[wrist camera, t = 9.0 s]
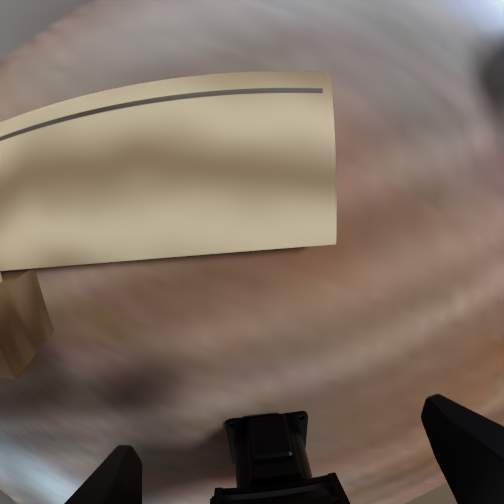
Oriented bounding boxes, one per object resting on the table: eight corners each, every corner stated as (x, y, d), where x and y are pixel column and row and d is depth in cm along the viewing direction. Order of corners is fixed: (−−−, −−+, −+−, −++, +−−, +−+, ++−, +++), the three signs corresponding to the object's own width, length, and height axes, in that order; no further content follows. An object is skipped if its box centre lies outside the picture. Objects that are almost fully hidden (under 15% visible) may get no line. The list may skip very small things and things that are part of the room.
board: (325, 234, 19) (336, 244, 17) (-15, 263, 17) (-31, 273, 16) (319, 80, 16) (330, 72, 14) (-34, 143, 15) (-52, 145, 13)
